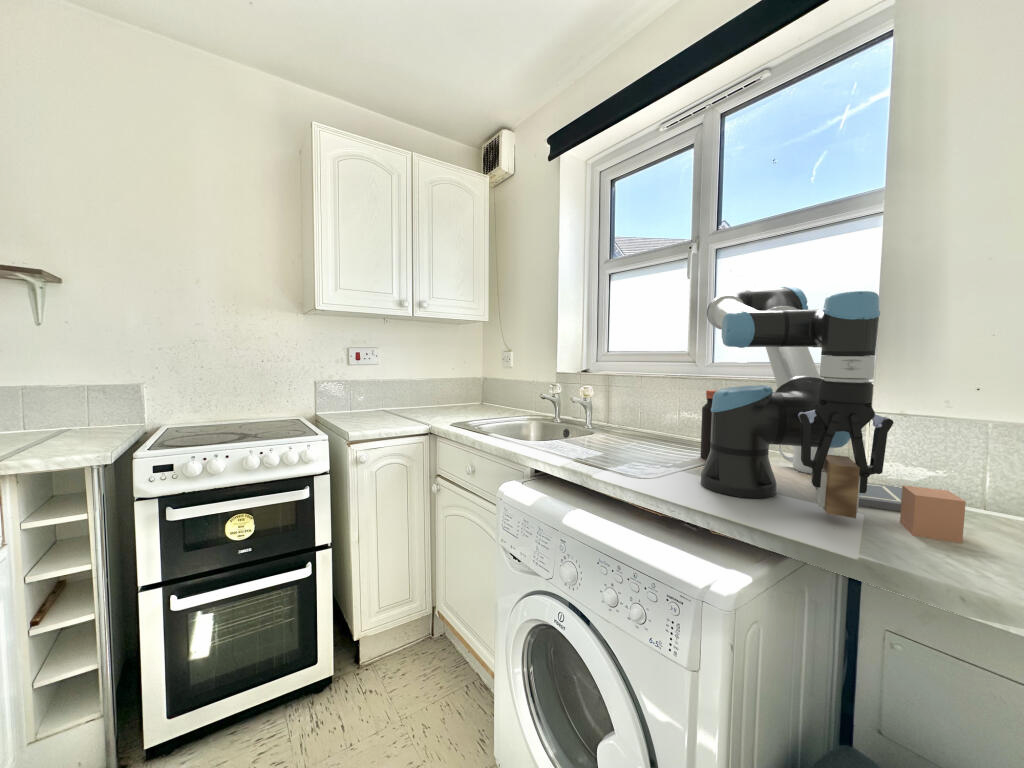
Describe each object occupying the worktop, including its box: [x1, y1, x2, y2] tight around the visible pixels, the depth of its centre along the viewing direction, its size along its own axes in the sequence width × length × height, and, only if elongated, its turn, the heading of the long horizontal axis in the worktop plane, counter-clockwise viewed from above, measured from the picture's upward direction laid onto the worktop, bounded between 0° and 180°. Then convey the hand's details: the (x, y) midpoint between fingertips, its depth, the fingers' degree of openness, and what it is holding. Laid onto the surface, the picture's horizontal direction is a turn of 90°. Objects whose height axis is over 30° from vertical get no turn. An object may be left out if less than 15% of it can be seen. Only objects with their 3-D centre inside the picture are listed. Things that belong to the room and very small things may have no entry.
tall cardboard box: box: [822, 454, 860, 519], centre depth 75 cm, size 4×8×9 cm, turn 152°
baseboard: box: [815, 482, 902, 513], centre depth 87 cm, size 18×14×2 cm
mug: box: [778, 445, 835, 475], centre depth 109 cm, size 9×12×11 cm
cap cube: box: [899, 484, 967, 544], centre depth 70 cm, size 6×6×7 cm
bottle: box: [700, 389, 719, 460], centre depth 120 cm, size 7×7×20 cm
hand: (836, 506), depth 75 cm, fingers closed on tall cardboard box, 4 cm apart
